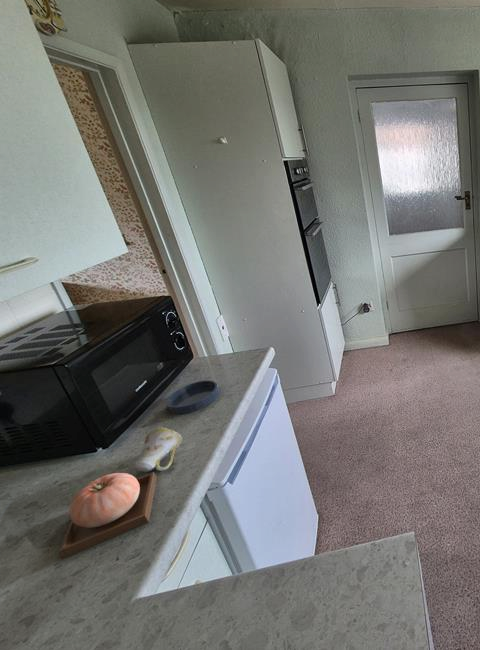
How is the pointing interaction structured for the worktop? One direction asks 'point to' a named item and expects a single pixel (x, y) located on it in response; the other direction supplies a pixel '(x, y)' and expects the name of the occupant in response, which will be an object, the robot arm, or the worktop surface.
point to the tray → (134, 517)
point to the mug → (158, 449)
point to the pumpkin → (104, 500)
